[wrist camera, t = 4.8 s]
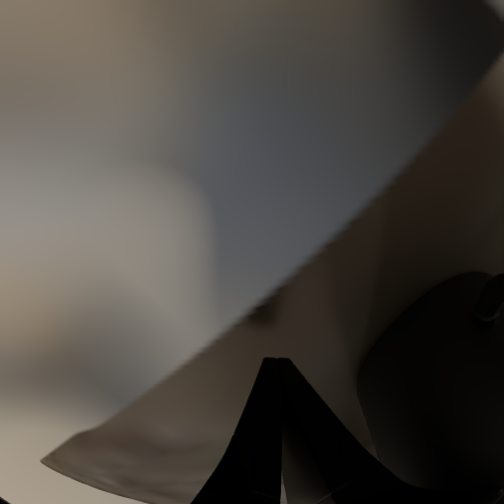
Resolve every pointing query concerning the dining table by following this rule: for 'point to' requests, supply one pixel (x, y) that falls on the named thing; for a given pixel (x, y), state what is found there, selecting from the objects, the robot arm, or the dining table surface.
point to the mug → (441, 388)
